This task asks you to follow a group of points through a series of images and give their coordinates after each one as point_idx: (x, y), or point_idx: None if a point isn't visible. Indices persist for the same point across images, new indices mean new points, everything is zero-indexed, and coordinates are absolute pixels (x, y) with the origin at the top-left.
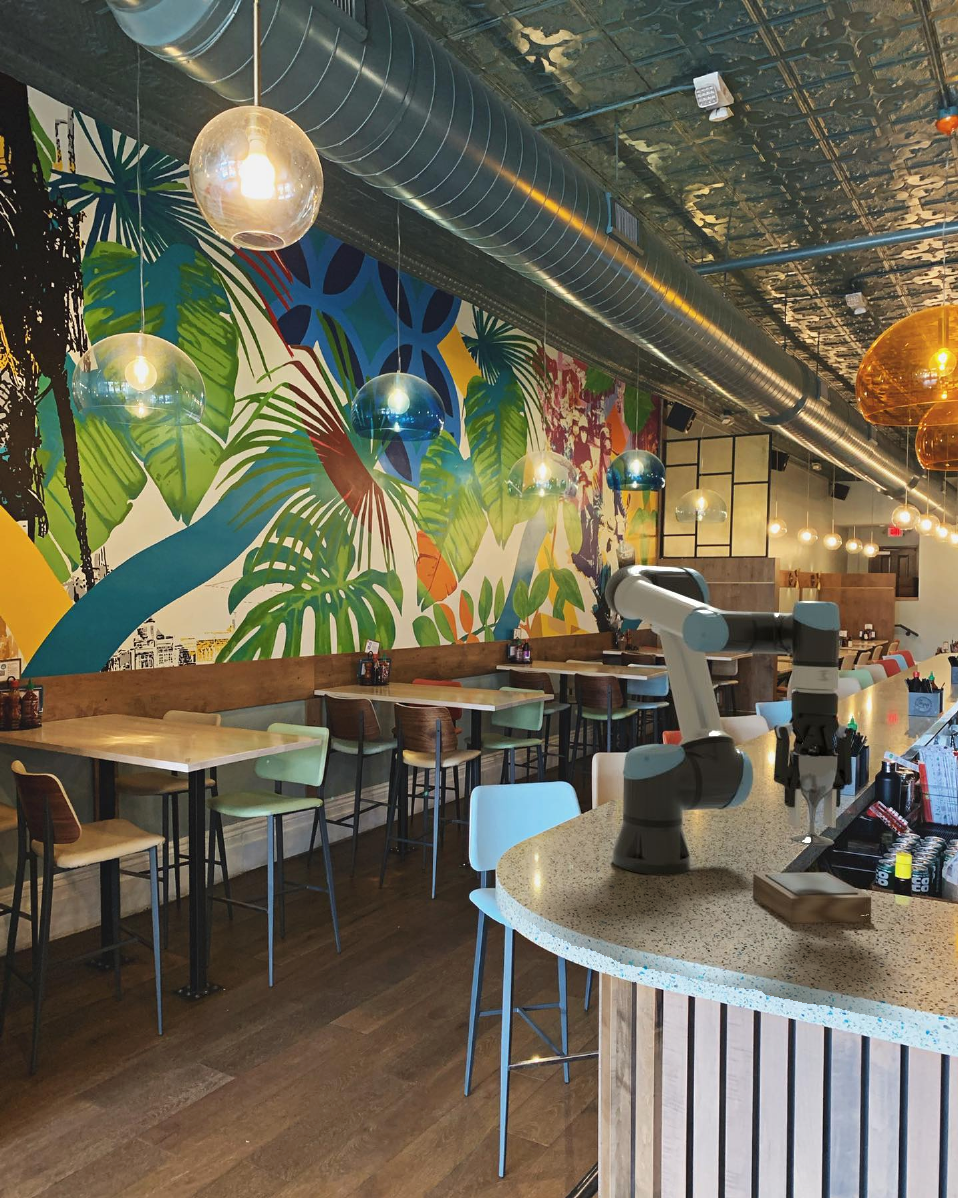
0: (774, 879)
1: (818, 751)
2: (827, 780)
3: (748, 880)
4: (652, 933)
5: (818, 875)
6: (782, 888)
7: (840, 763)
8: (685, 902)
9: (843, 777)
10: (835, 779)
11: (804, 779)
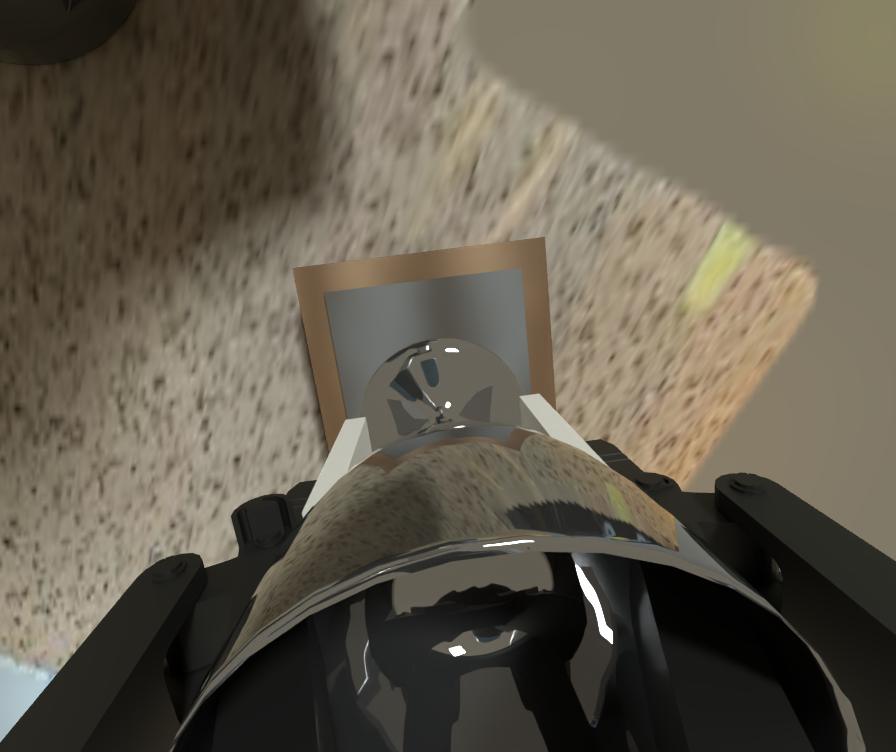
0: (336, 352)
1: (741, 587)
2: (520, 740)
3: (337, 100)
4: (8, 559)
5: (494, 295)
6: (339, 419)
7: (830, 637)
8: (103, 340)
9: (745, 560)
10: (617, 672)
11: (352, 714)
